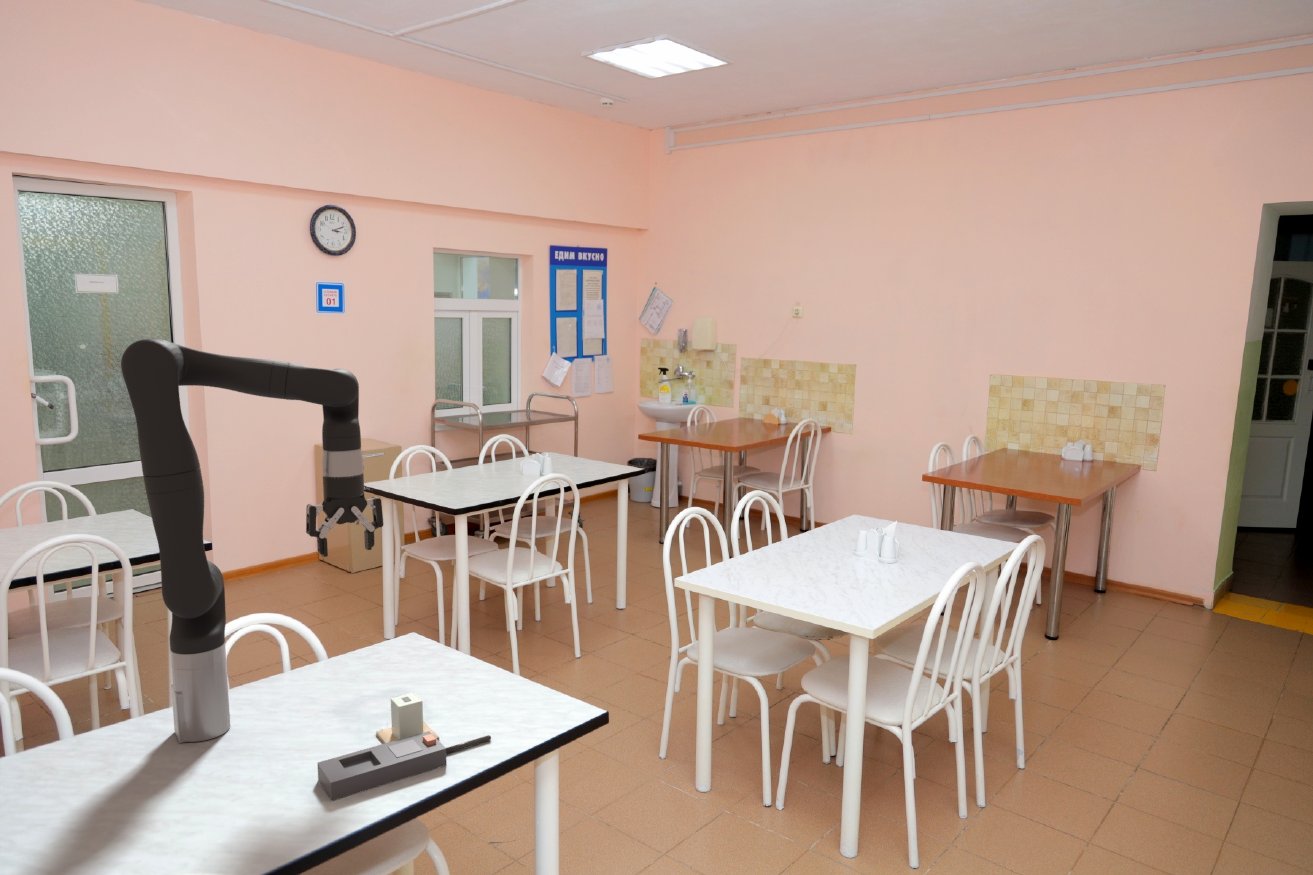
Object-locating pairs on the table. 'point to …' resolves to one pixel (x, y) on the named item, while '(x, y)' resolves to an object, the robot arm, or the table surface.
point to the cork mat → (389, 737)
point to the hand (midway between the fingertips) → (346, 552)
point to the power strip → (385, 764)
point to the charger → (406, 715)
